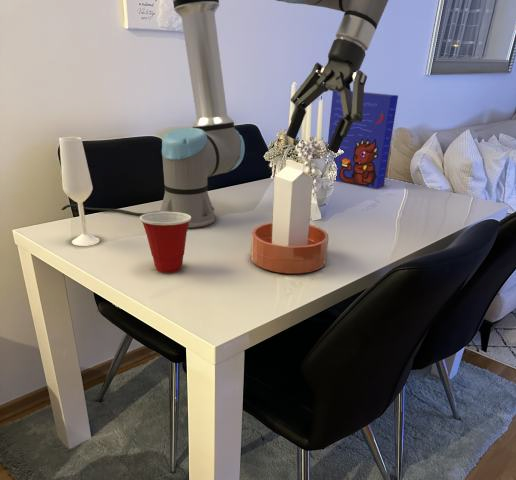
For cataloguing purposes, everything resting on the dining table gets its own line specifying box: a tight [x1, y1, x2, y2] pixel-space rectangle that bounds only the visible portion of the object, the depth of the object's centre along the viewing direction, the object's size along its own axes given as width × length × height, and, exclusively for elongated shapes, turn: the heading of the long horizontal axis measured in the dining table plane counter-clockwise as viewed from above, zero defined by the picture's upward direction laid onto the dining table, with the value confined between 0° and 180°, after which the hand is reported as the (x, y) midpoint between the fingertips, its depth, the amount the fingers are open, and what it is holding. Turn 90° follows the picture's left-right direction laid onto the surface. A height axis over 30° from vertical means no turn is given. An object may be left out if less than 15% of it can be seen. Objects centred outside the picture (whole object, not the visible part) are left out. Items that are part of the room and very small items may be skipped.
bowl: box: [250, 221, 330, 275], centre depth 118 cm, size 18×18×6 cm
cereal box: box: [327, 90, 399, 190], centre depth 180 cm, size 22×6×30 cm, turn 52°
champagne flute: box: [58, 136, 100, 247], centre depth 119 cm, size 7×7×24 cm
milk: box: [272, 159, 314, 246], centre depth 113 cm, size 6×6×22 cm
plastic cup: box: [139, 211, 191, 274], centre depth 110 cm, size 11×11×12 cm
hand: (310, 144), depth 114 cm, fingers open, 13 cm apart
